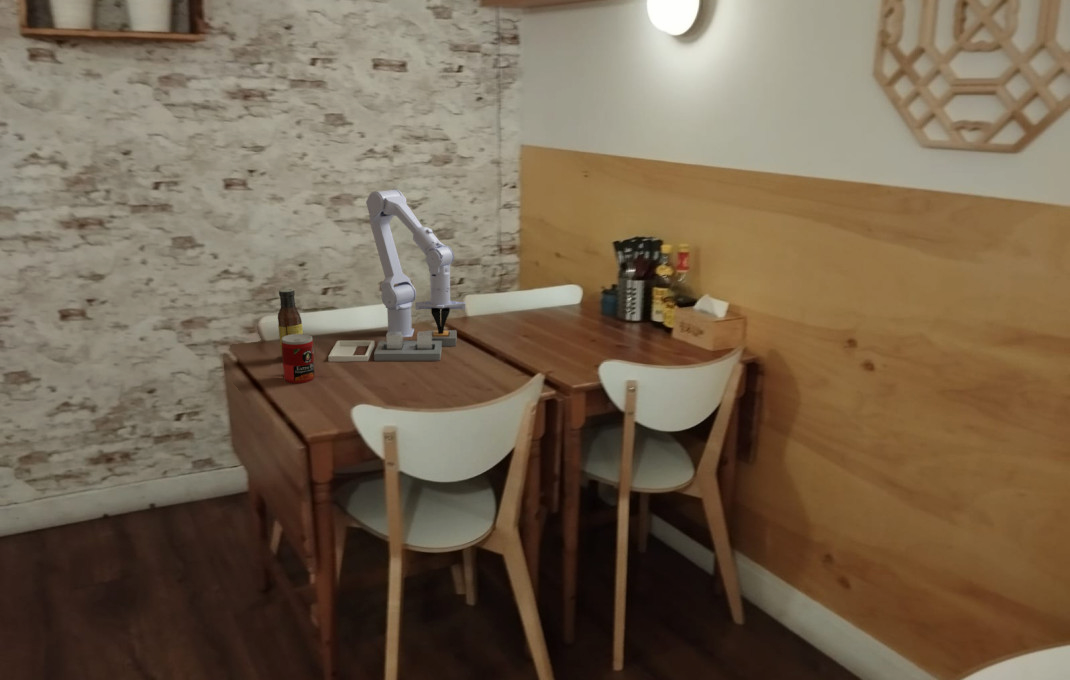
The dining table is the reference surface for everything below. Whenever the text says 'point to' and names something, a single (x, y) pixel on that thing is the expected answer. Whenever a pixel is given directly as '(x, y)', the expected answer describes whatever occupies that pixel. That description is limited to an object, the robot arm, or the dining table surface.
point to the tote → (349, 351)
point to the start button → (445, 334)
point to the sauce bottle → (288, 315)
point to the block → (424, 340)
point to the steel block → (394, 340)
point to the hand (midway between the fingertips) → (440, 332)
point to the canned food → (298, 358)
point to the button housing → (446, 338)
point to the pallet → (408, 352)
